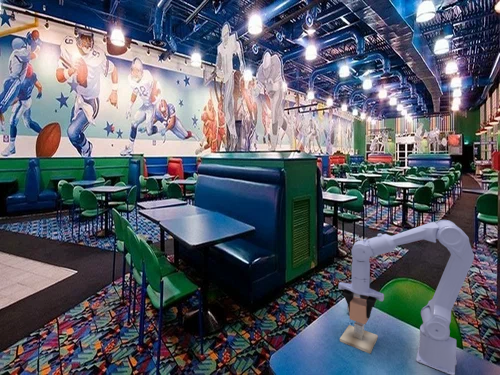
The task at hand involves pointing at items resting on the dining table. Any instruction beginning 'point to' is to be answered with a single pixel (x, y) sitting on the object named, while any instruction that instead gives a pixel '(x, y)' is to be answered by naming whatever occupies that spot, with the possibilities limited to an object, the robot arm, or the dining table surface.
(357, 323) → the steel post
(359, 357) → the dining table surface
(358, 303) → the orange tan block
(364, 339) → the birch board
